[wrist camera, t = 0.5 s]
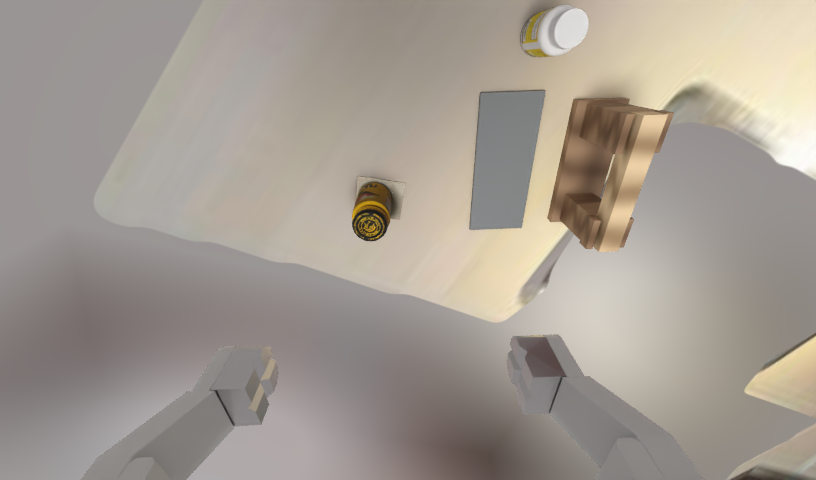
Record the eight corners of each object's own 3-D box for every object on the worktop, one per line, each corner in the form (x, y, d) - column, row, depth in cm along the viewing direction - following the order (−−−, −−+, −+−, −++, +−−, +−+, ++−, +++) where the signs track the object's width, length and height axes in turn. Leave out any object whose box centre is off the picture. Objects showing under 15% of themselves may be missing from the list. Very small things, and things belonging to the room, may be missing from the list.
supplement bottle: (562, 43, 45) (599, 39, 37) (527, 64, 47) (555, 65, 38) (551, 3, 43) (588, -11, 34) (514, 27, 44) (541, 19, 36)
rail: (628, 111, 41) (644, 115, 38) (651, 110, 41) (668, 114, 38) (588, 242, 51) (598, 251, 48) (606, 241, 51) (617, 251, 48)
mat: (480, 92, 48) (481, 93, 48) (544, 90, 48) (545, 90, 48) (469, 228, 60) (470, 229, 60) (520, 226, 61) (521, 227, 60)
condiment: (357, 175, 55) (348, 203, 44) (405, 182, 56) (407, 210, 45) (354, 213, 58) (345, 246, 48) (399, 218, 59) (399, 252, 49)
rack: (573, 99, 49) (620, 110, 39) (623, 97, 49) (683, 108, 39) (547, 218, 60) (578, 251, 49) (588, 216, 60) (628, 249, 50)
